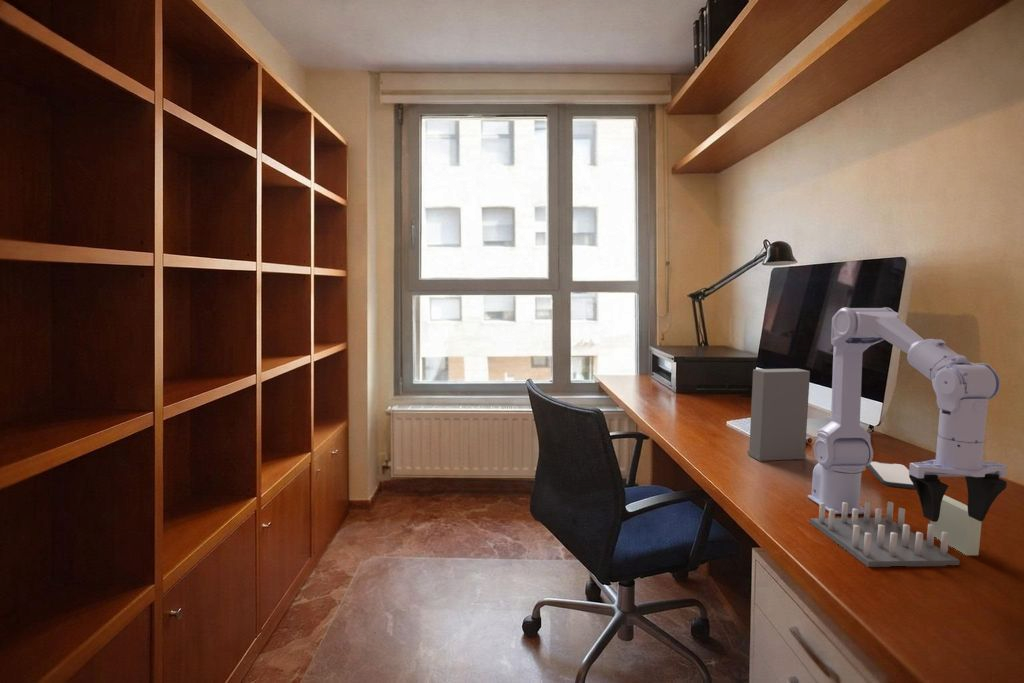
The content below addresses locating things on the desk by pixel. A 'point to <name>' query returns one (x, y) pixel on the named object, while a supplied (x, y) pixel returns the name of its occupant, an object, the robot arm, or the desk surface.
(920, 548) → the dish rack
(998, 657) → the desk surface
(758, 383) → the tall grey upright box
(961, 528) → the pale rectangular block
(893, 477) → the phone case
